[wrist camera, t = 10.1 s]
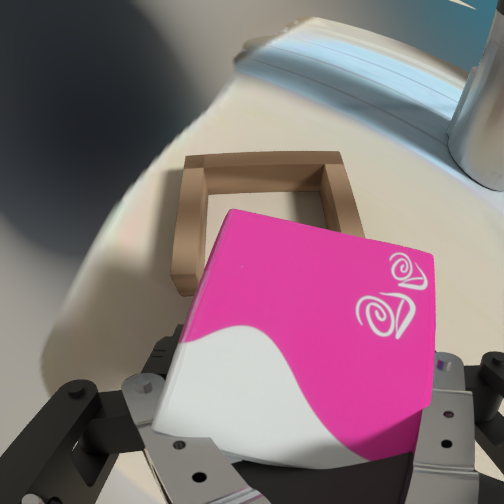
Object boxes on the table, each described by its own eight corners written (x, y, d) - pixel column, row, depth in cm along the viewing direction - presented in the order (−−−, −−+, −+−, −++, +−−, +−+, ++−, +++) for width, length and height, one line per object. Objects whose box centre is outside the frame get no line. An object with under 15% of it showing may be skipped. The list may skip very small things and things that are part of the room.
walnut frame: (191, 182, 27) (185, 155, 24) (333, 177, 27) (339, 151, 24) (181, 295, 21) (170, 274, 19) (359, 287, 21) (372, 266, 19)
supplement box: (321, 459, 14) (422, 487, 4) (210, 434, 15) (128, 429, 5) (342, 359, 17) (439, 246, 7) (239, 337, 18) (215, 199, 8)
